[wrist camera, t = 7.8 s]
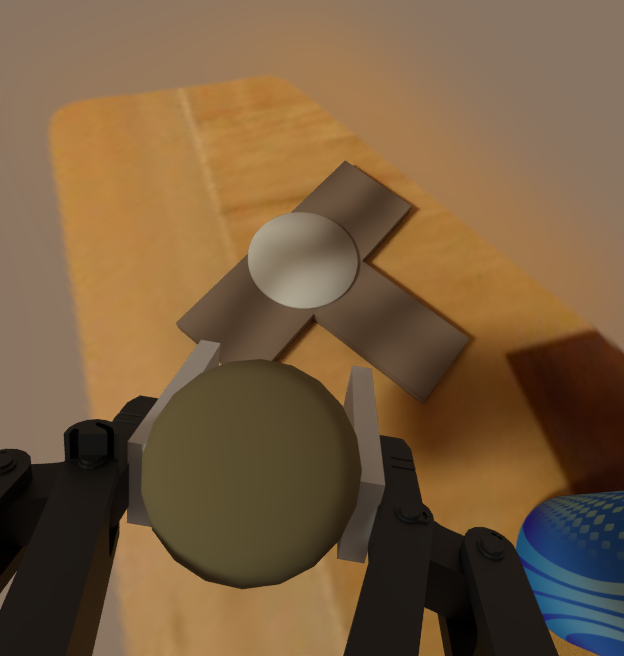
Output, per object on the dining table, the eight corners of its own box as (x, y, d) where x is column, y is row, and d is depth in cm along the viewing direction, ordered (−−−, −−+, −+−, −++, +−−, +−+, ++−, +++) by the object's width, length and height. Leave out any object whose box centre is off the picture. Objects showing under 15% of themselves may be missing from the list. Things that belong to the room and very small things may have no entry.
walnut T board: (509, 281, 38) (516, 273, 37) (363, 482, 31) (367, 481, 30) (337, 164, 41) (339, 153, 40) (171, 322, 34) (167, 315, 33)
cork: (287, 394, 22) (293, 280, 11) (363, 511, 20) (451, 501, 10) (167, 468, 20) (51, 413, 10) (239, 603, 18) (186, 706, 8)
